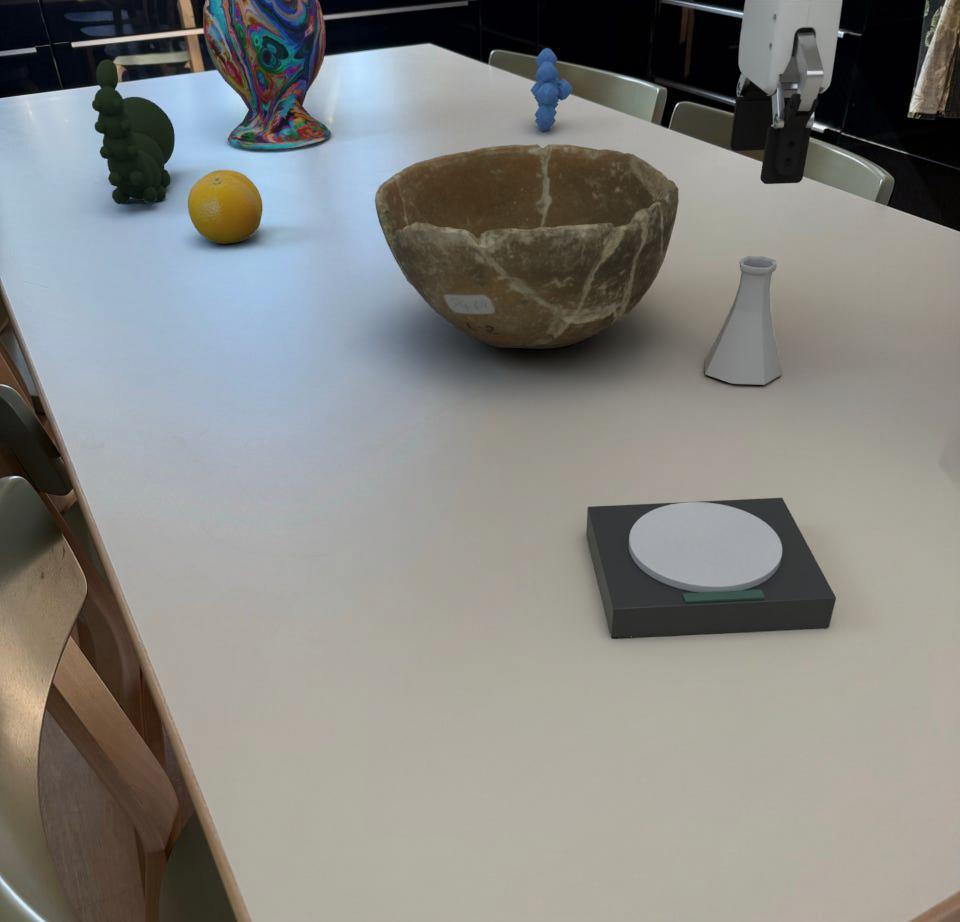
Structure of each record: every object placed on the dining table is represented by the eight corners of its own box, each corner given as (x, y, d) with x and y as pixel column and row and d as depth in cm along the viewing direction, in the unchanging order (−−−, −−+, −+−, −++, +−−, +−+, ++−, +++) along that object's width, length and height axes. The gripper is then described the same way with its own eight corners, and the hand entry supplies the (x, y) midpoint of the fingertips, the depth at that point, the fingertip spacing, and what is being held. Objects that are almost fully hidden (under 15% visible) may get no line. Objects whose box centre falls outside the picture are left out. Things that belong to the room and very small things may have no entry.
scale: (777, 525, 74) (783, 489, 72) (829, 627, 65) (838, 590, 63) (586, 534, 74) (587, 499, 72) (611, 638, 65) (614, 601, 63)
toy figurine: (173, 229, 136) (187, 161, 153) (139, 72, 122) (158, 17, 140) (101, 233, 135) (124, 165, 152) (58, 76, 121) (88, 21, 139)
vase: (200, 140, 165) (159, -86, 146) (294, 120, 175) (267, -95, 156) (263, 160, 155) (228, -80, 136) (359, 137, 164) (338, -91, 145)
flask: (714, 349, 98) (728, 243, 92) (790, 362, 96) (809, 254, 89) (692, 379, 93) (705, 270, 87) (771, 393, 91) (790, 281, 84)
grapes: (573, 139, 161) (576, 52, 153) (530, 140, 161) (531, 53, 153) (569, 121, 170) (572, 39, 162) (529, 122, 170) (530, 40, 162)
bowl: (483, 430, 86) (479, 251, 77) (343, 328, 104) (326, 172, 95) (727, 352, 97) (750, 187, 88) (563, 271, 115) (567, 127, 106)
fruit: (195, 254, 122) (181, 184, 117) (195, 233, 129) (182, 166, 124) (269, 248, 124) (258, 178, 119) (265, 227, 130) (255, 160, 125)
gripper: (899, -82, 66) (843, 195, 77) (816, -102, 79) (779, 137, 90) (784, -79, 66) (745, 198, 77) (721, -99, 79) (695, 139, 90)
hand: (763, 165), depth 83 cm, fingers open, 9 cm apart
